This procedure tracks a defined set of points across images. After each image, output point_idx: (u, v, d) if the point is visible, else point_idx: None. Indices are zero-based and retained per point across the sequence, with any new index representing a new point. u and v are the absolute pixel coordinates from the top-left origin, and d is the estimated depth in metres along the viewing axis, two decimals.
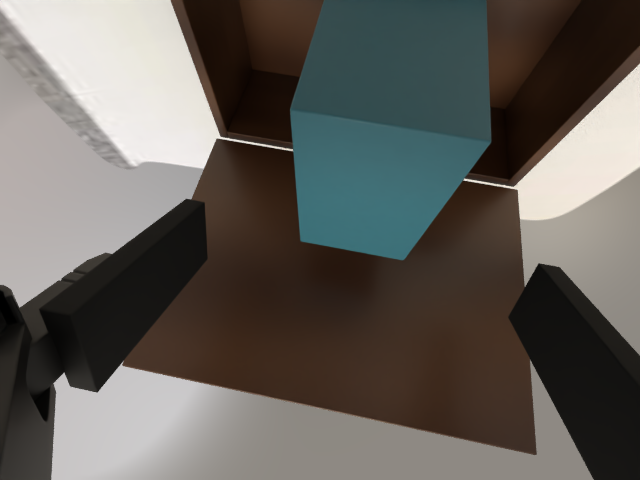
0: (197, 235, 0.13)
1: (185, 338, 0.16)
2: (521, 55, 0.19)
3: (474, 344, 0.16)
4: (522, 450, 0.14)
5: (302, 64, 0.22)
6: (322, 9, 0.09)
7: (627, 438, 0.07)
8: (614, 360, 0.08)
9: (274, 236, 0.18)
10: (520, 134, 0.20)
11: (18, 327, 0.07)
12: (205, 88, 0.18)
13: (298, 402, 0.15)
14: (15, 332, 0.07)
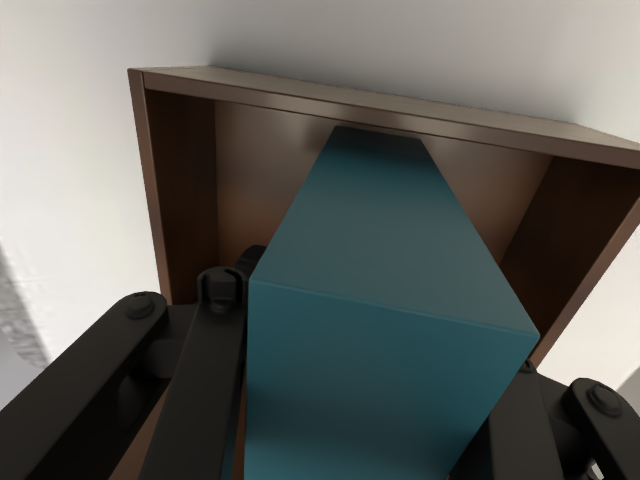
0: None
1: None
2: None
3: None
4: None
5: None
6: (298, 193, 0.08)
7: None
8: None
9: None
10: None
11: (242, 307, 0.08)
12: (160, 277, 0.16)
13: None
14: (240, 311, 0.08)
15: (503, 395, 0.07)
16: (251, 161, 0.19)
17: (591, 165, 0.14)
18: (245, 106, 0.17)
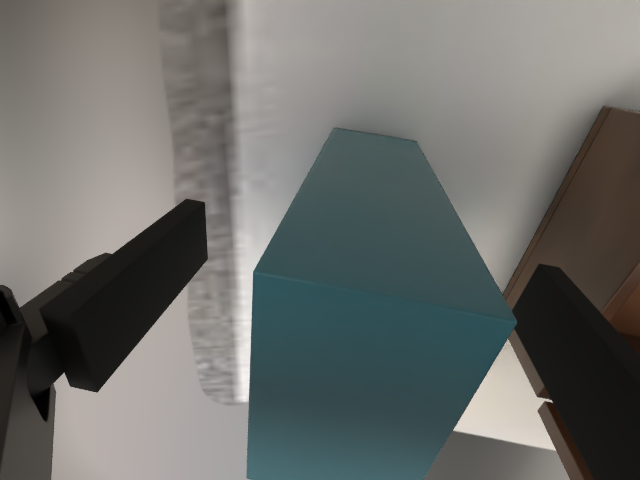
0: (197, 235, 0.13)
1: None
2: None
3: None
4: None
5: None
6: (298, 193, 0.09)
7: (627, 438, 0.07)
8: (614, 360, 0.08)
9: None
10: None
11: (18, 327, 0.07)
12: None
13: None
14: (15, 332, 0.07)
15: None
16: None
17: None
18: None
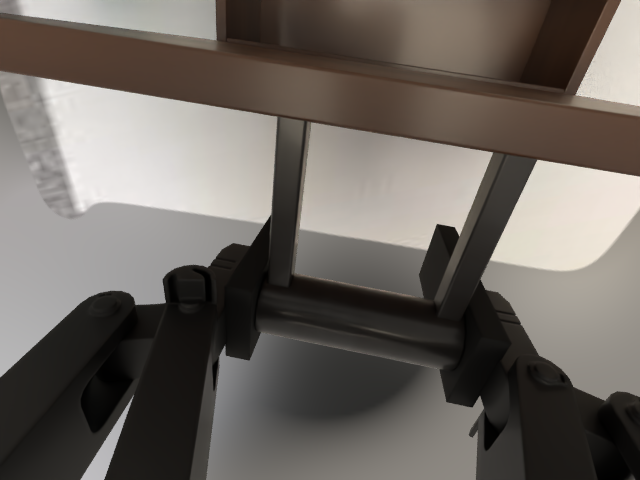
0: None
1: (71, 25, 0.07)
2: (528, 12, 0.20)
3: None
4: None
5: (313, 33, 0.22)
6: None
7: None
8: None
9: (283, 52, 0.12)
10: (555, 59, 0.18)
11: (212, 306, 0.08)
12: None
13: (363, 73, 0.05)
14: (210, 310, 0.08)
15: (537, 409, 0.07)
16: None
17: None
18: None
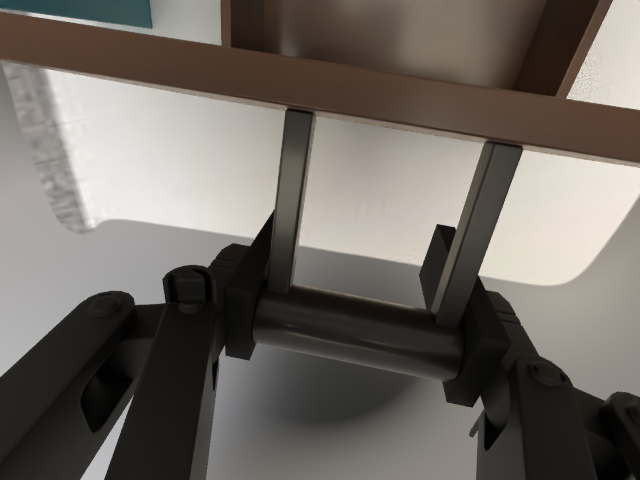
0: None
1: None
2: (508, 53, 0.22)
3: None
4: None
5: None
6: None
7: None
8: None
9: None
10: None
11: (212, 306, 0.08)
12: (223, 16, 0.18)
13: (365, 68, 0.06)
14: (210, 310, 0.08)
15: (537, 408, 0.07)
16: None
17: None
18: None
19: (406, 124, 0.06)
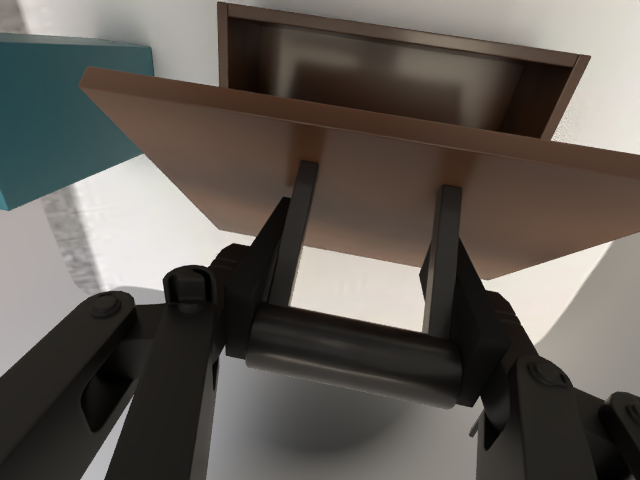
0: None
1: None
2: None
3: None
4: None
5: None
6: None
7: (459, 345, 0.09)
8: (461, 289, 0.10)
9: None
10: None
11: (212, 306, 0.08)
12: None
13: (359, 110, 0.09)
14: (210, 310, 0.08)
15: (537, 409, 0.07)
16: (286, 93, 0.24)
17: (540, 78, 0.19)
18: (284, 46, 0.23)
19: (386, 137, 0.09)
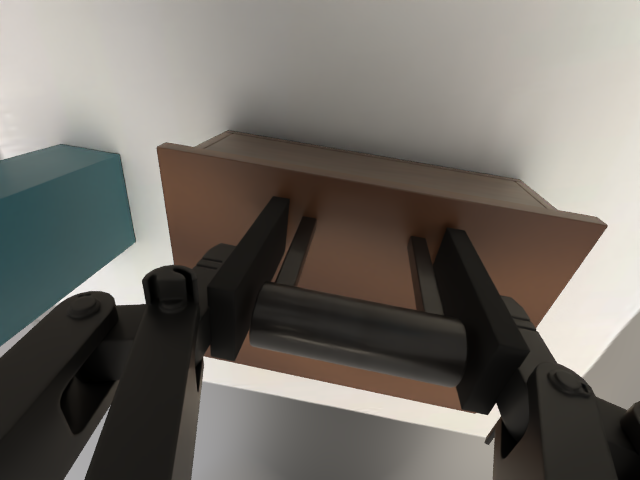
0: (283, 229, 0.14)
1: None
2: None
3: None
4: None
5: None
6: None
7: (474, 352, 0.09)
8: (475, 294, 0.10)
9: None
10: None
11: (194, 306, 0.08)
12: None
13: (348, 174, 0.14)
14: (192, 309, 0.08)
15: (558, 417, 0.07)
16: None
17: None
18: None
19: (368, 184, 0.14)
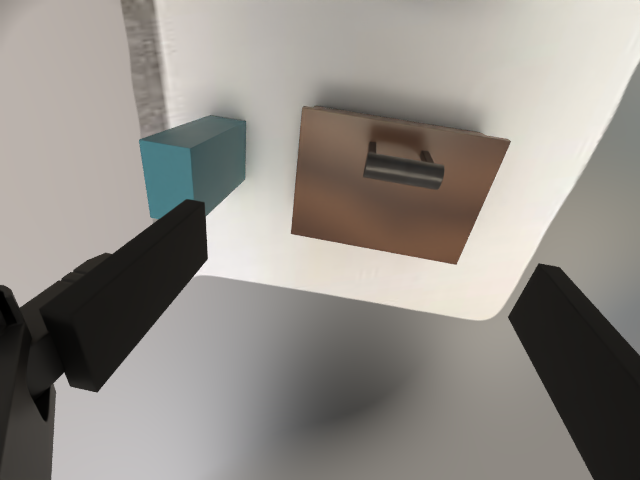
0: (197, 235, 0.13)
1: None
2: None
3: None
4: (500, 138, 0.30)
5: None
6: (163, 131, 0.31)
7: (627, 438, 0.07)
8: (614, 360, 0.08)
9: None
10: None
11: (18, 327, 0.07)
12: None
13: (392, 120, 0.30)
14: (15, 332, 0.07)
15: None
16: None
17: None
18: None
19: (402, 124, 0.30)
